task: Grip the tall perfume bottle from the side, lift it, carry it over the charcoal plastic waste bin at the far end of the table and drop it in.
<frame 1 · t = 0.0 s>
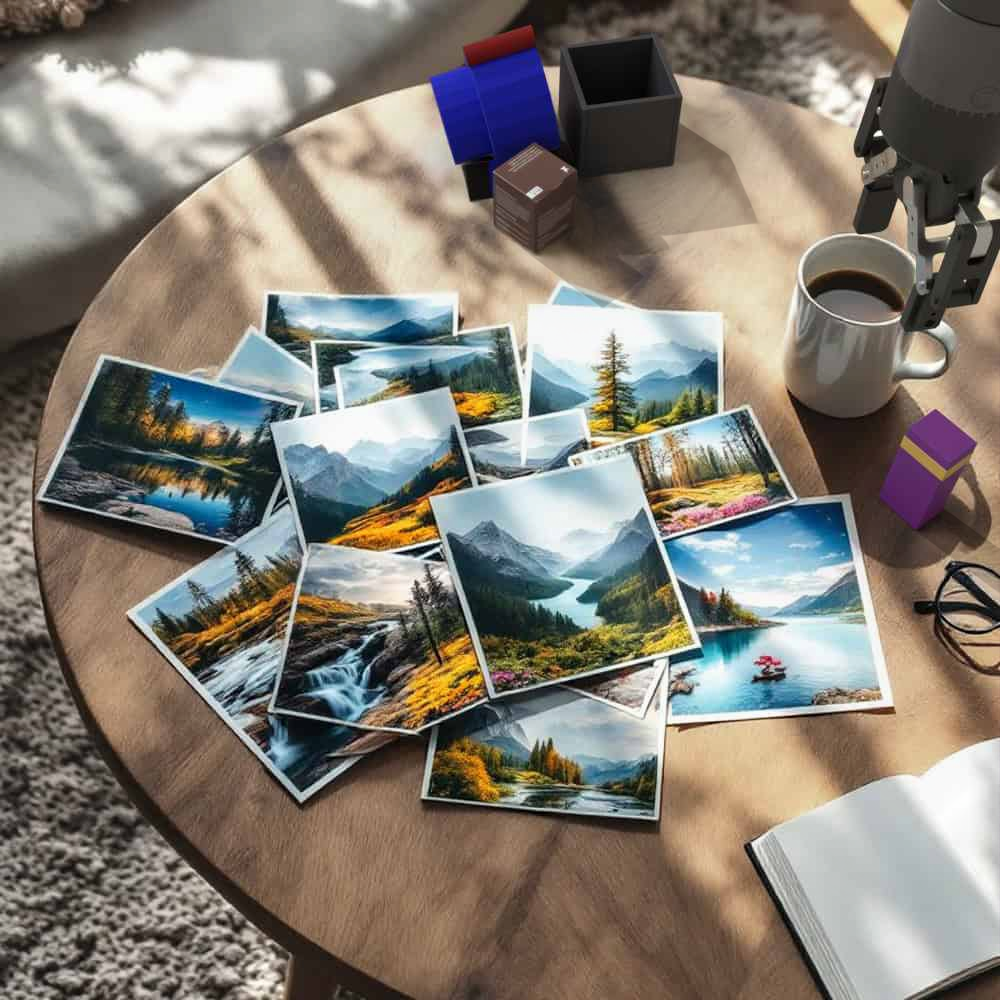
hand: (892, 276, 79), 31 cm above the table, tool pointing down, fingers open, 8 cm apart
bin: (614, 139, 133), on the table
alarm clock: (494, 157, 132), on the table
perfume bottle: (909, 504, 107), on the table
box: (534, 227, 126), on the table
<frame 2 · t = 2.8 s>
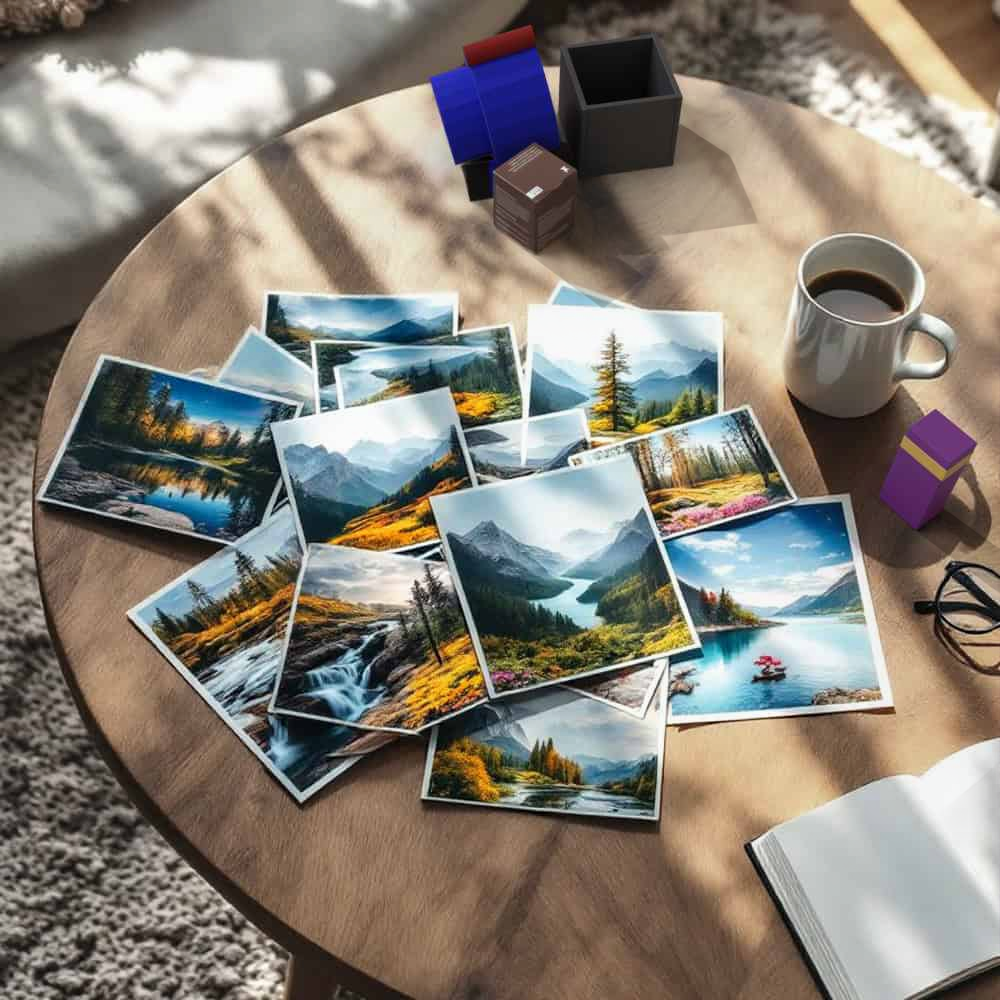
nothing on the table moved.
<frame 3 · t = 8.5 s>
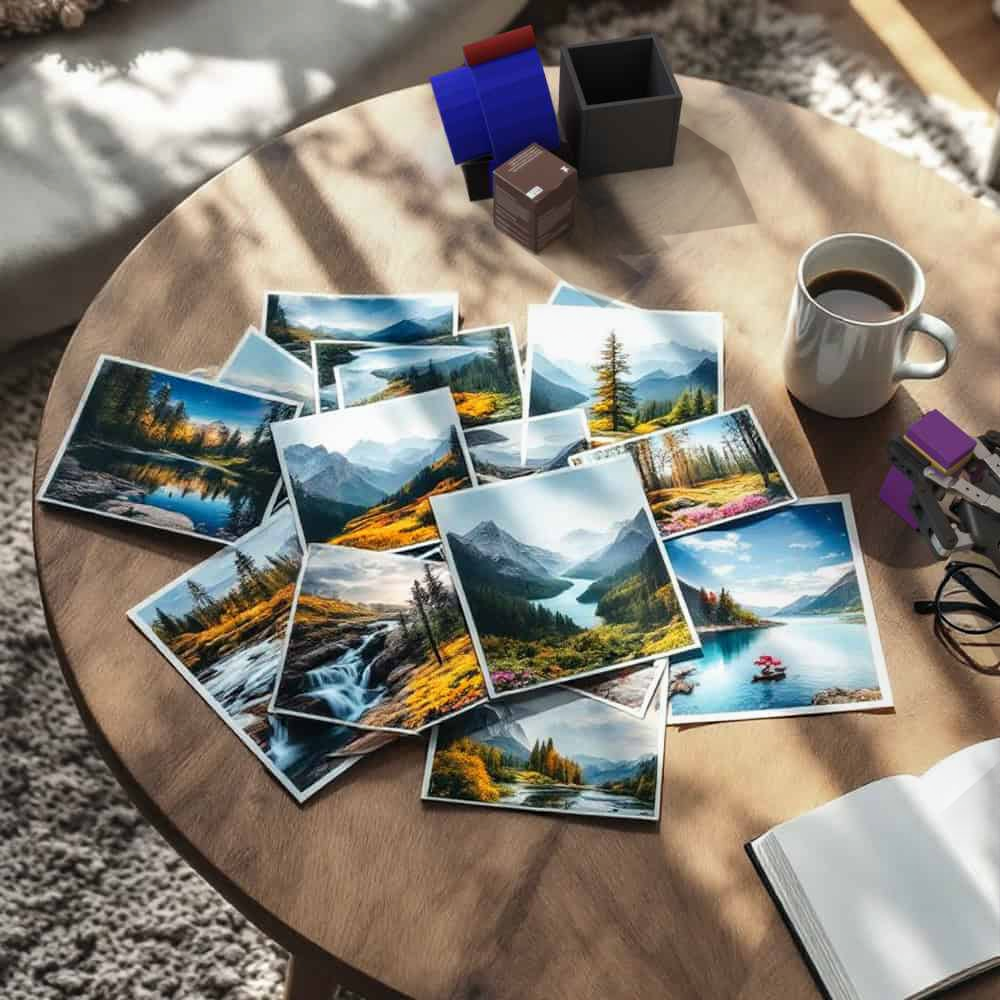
hand: (907, 431, 102), 7 cm above the table, tool horizontal, fingers closed on perfume bottle, 3 cm apart
perfume bottle: (909, 504, 107), on the table, touching gripper
everything else where it was.
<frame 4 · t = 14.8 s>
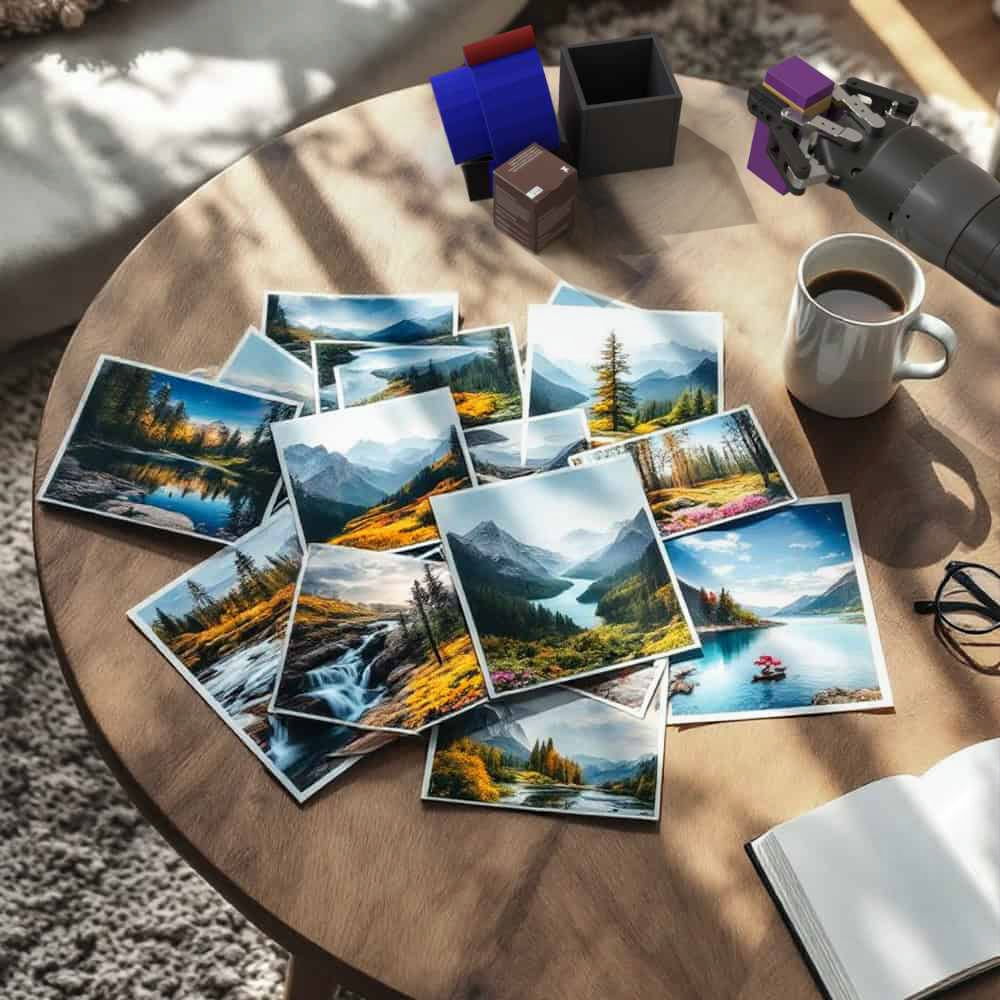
hand: (769, 84, 101), 24 cm above the table, tool horizontal, fingers closed on perfume bottle, 3 cm apart
perfume bottle: (777, 174, 106), point 16 cm above the table, touching gripper
everything else where it was.
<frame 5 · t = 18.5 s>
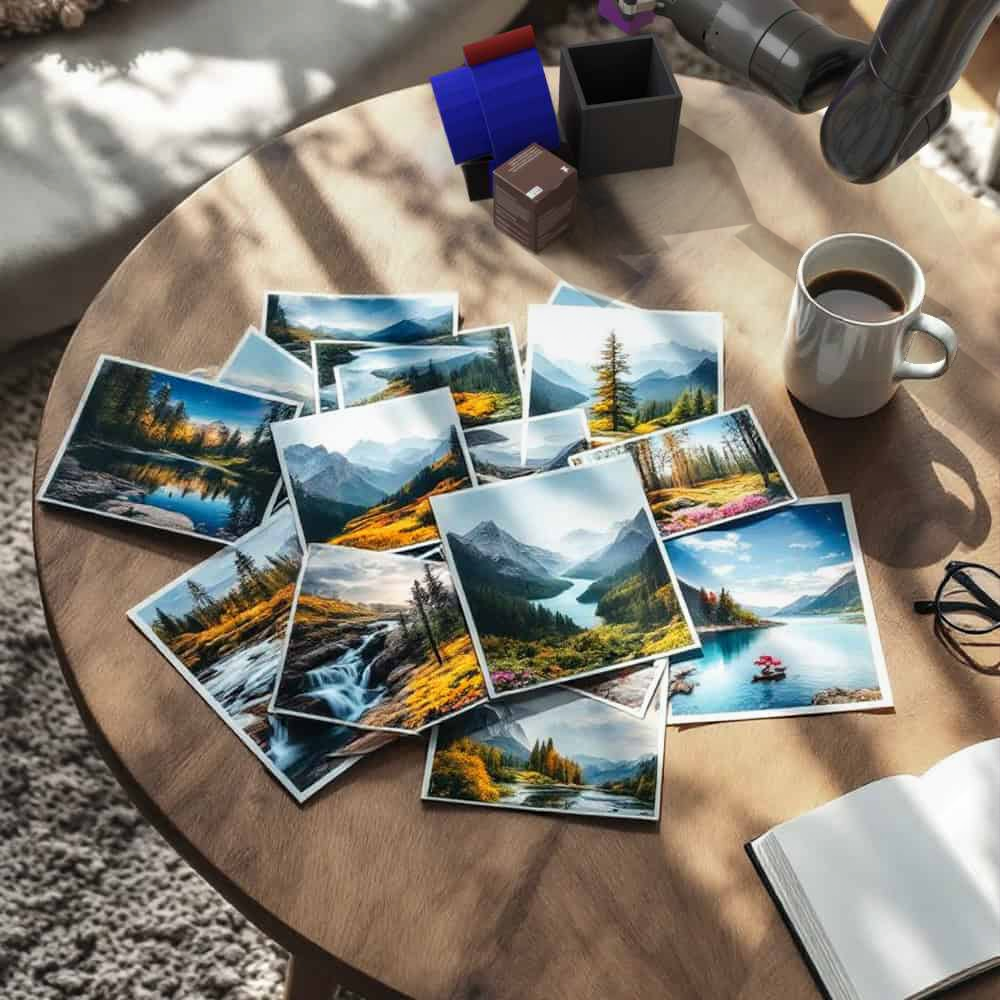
perfume bottle: (625, 18, 120), point 15 cm above the table, touching gripper
everything else where it was.
when the fingers open (13 cm above the table, at t = 21.5 s): perfume bottle drops 5 cm, resting on bin.
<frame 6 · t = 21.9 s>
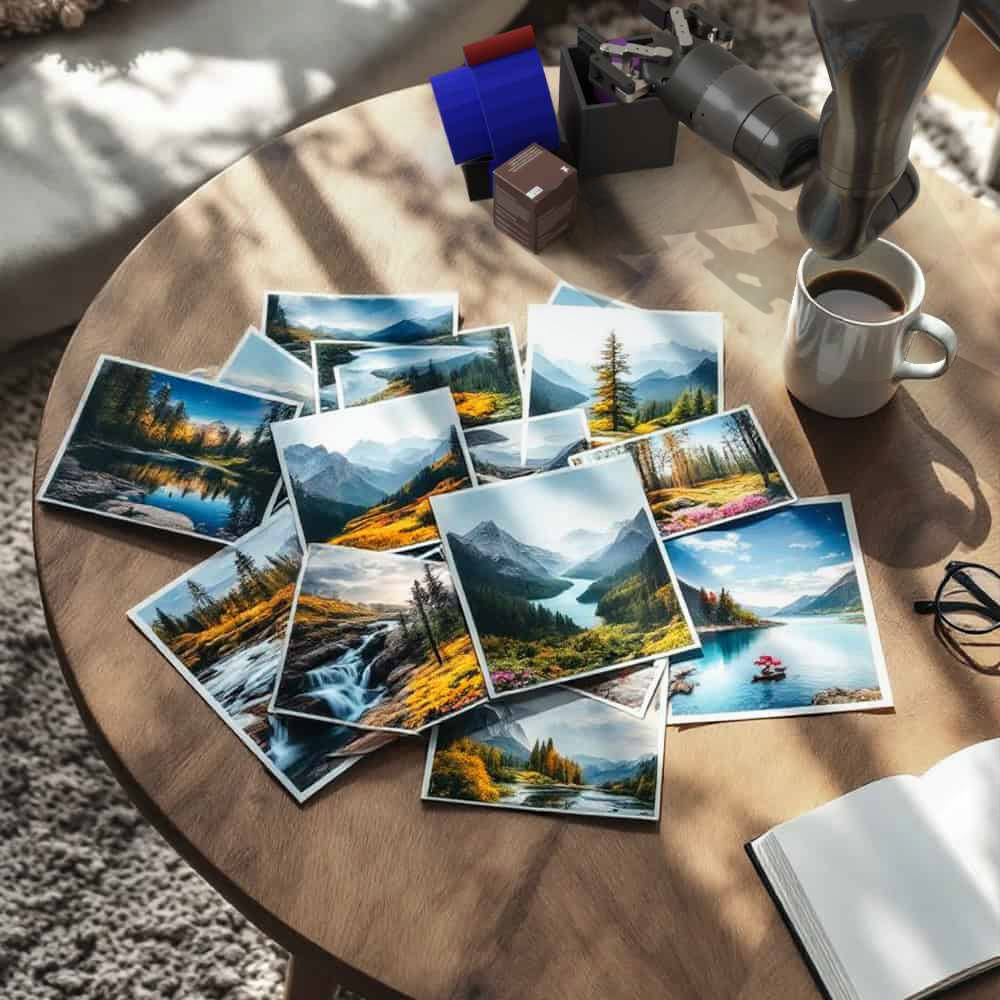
hand: (611, 17, 122), 14 cm above the table, tool horizontal, fingers open, 7 cm apart
perfume bottle: (615, 133, 132), point 1 cm above the table, touching bin
everything else where it was.
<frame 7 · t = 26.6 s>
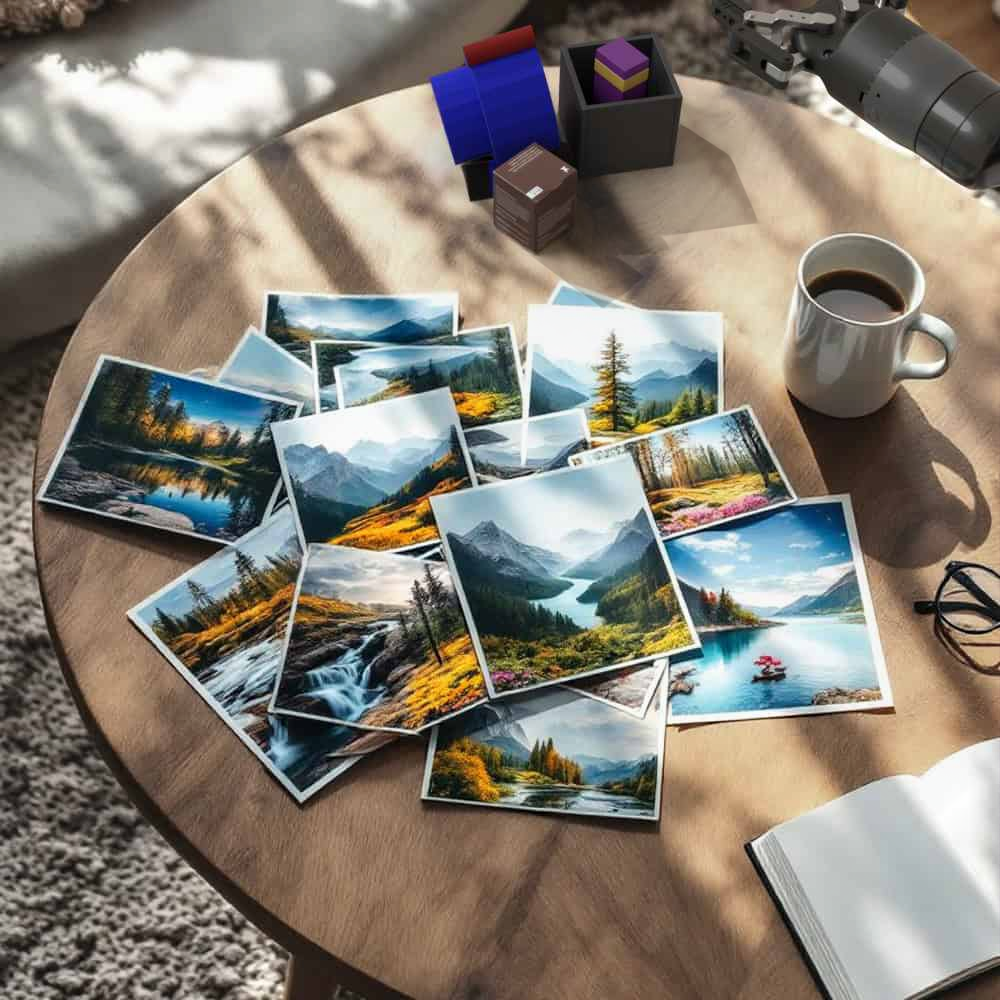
nothing on the table moved.
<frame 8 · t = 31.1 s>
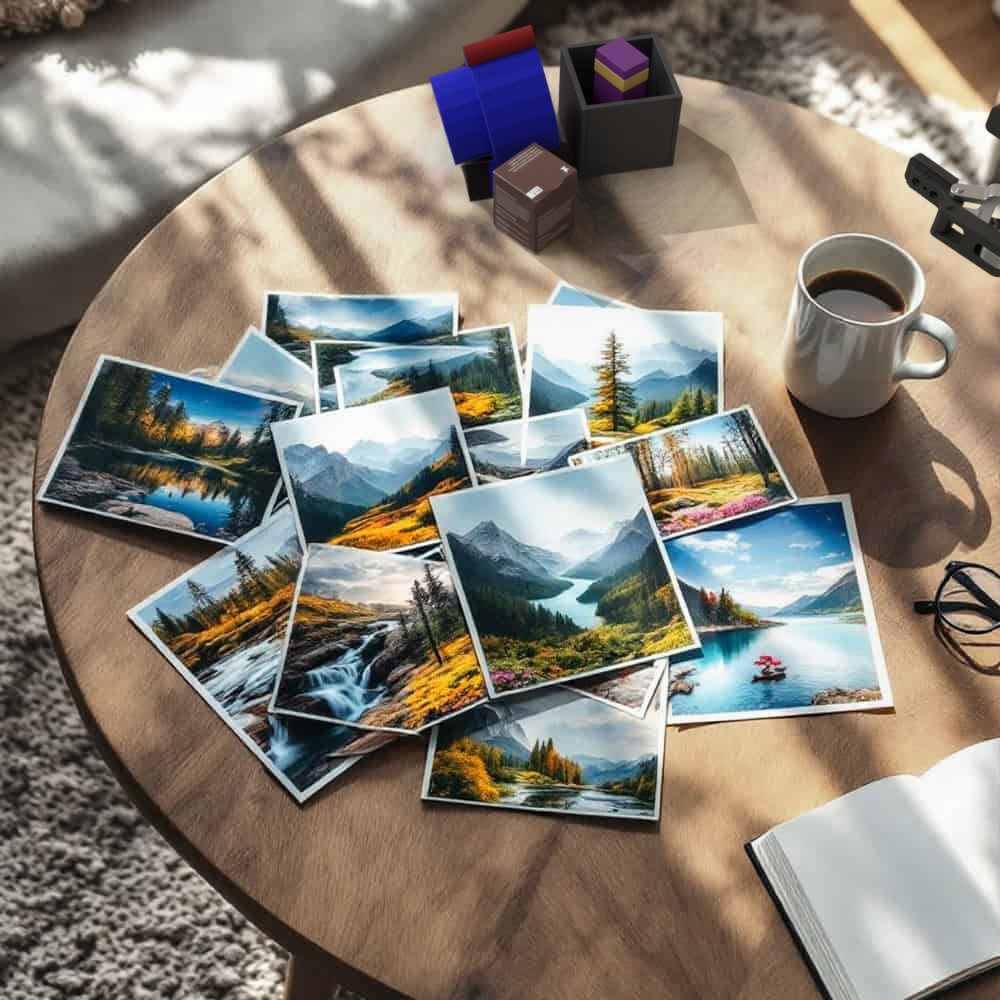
hand: (951, 139, 88), 30 cm above the table, tool horizontal, fingers open, 8 cm apart
nothing on the table moved.
at the end: perfume bottle inside the target area in the bin (0.1 cm from its centre), point 0.8 cm above the bin's base; the gripper is holding nothing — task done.
